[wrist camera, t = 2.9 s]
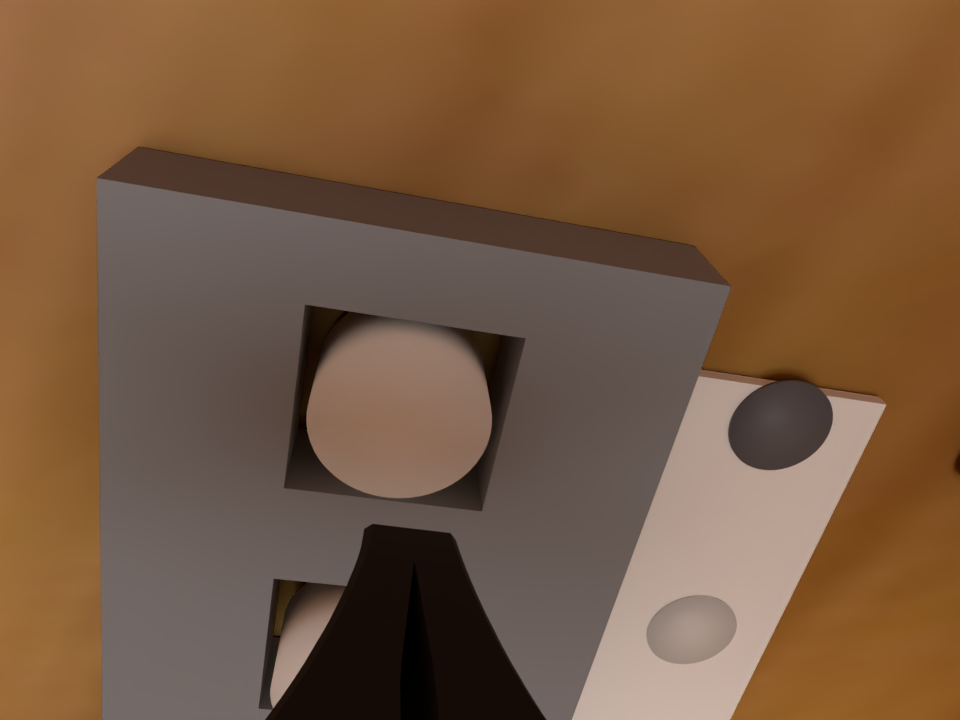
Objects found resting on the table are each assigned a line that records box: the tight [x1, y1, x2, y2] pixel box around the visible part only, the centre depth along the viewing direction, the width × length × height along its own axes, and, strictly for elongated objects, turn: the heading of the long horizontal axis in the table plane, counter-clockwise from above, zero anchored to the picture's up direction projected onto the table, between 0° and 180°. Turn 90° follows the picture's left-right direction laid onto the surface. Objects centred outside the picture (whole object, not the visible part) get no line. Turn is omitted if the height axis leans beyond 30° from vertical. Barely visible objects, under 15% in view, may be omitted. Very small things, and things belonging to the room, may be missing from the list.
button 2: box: [270, 582, 346, 708], centre depth 20 cm, size 4×4×2 cm
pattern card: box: [572, 369, 886, 720], centre depth 23 cm, size 5×17×1 cm, turn 168°
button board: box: [97, 147, 731, 720], centre depth 21 cm, size 12×22×2 cm, turn 168°
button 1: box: [306, 311, 492, 498], centre depth 18 cm, size 4×4×2 cm
